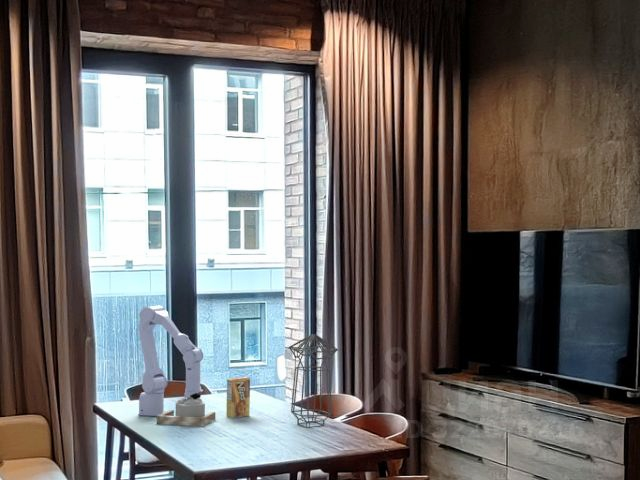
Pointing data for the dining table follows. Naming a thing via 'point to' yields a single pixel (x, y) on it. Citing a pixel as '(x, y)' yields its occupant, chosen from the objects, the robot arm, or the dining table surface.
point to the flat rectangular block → (184, 419)
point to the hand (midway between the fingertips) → (192, 412)
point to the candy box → (238, 397)
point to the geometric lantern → (318, 342)
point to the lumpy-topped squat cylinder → (190, 407)
